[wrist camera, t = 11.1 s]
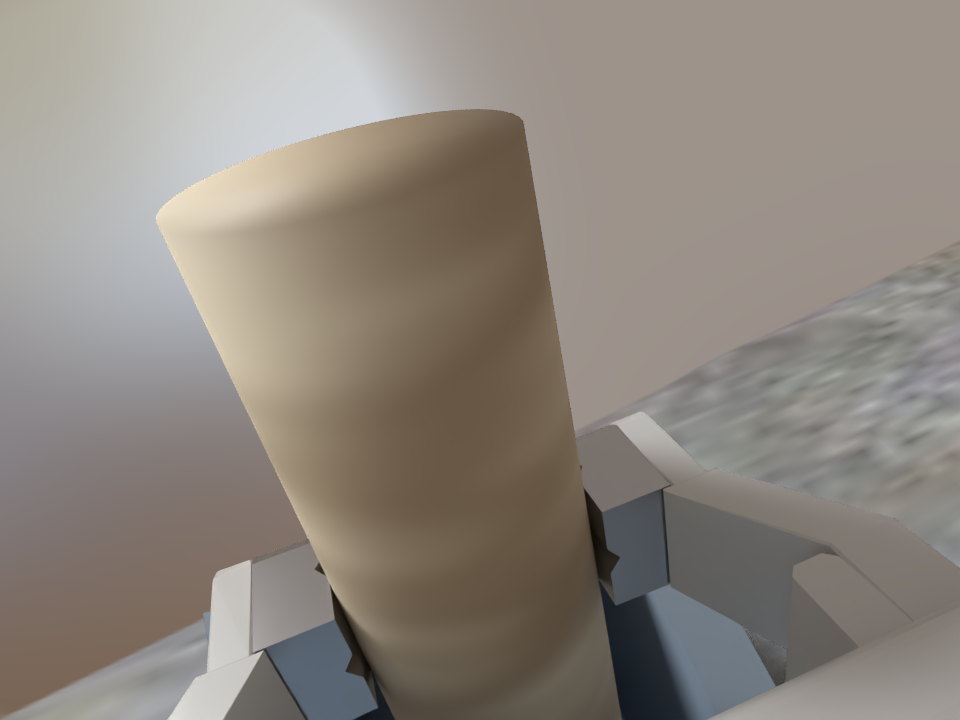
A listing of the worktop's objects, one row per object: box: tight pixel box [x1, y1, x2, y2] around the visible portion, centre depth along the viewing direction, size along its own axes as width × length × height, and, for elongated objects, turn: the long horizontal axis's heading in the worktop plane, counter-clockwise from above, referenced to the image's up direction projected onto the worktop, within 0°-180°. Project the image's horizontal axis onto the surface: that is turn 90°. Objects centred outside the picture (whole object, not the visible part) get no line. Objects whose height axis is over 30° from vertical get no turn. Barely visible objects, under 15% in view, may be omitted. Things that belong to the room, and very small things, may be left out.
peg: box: [156, 109, 622, 720], centre depth 9 cm, size 3×3×12 cm
